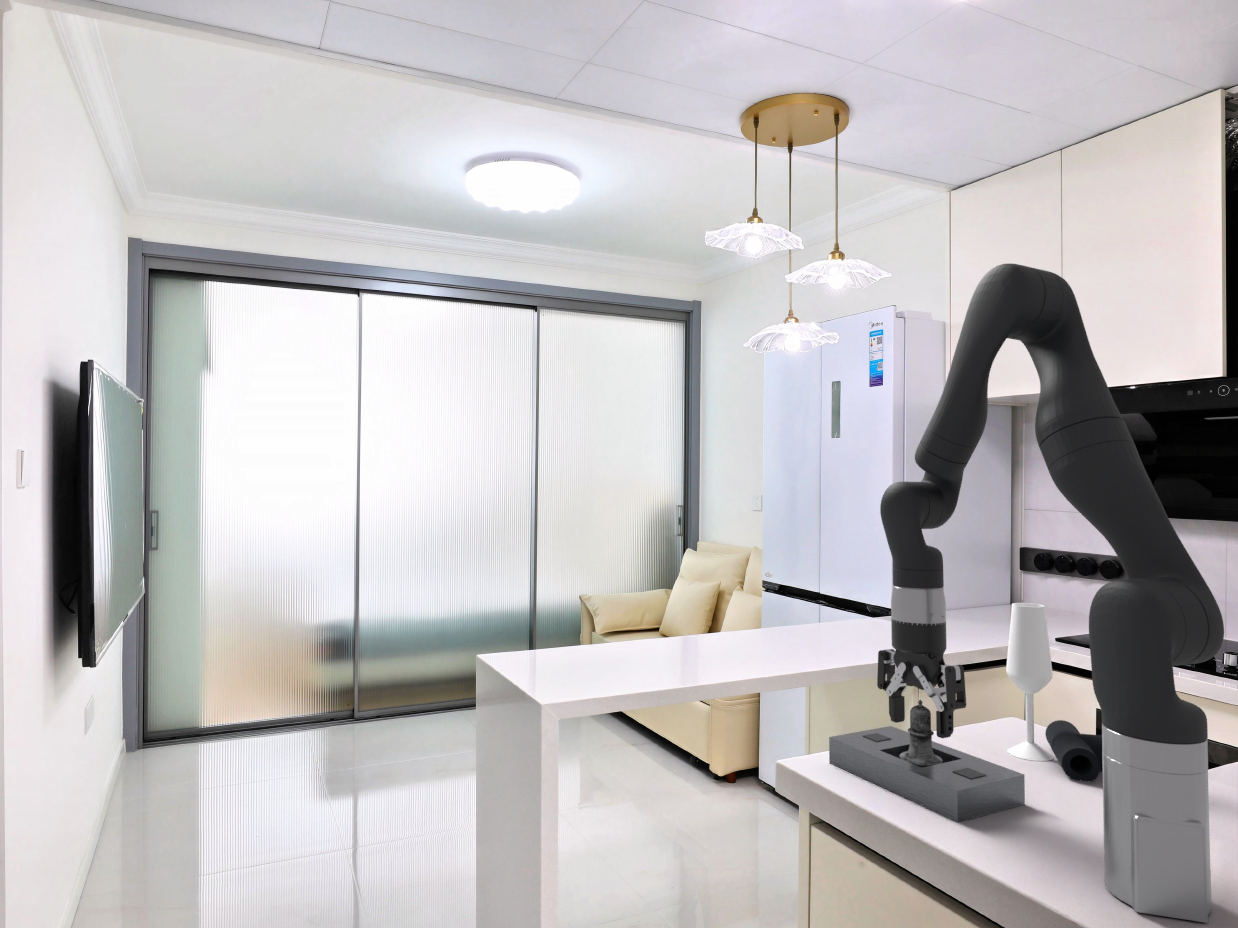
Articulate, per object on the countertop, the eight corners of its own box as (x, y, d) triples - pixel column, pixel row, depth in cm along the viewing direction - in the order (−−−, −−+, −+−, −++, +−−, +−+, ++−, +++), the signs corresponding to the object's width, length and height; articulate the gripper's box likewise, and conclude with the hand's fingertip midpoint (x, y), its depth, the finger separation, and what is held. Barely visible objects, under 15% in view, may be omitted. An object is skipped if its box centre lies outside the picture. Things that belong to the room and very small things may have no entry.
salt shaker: (921, 792, 109) (920, 706, 109) (890, 778, 114) (890, 696, 115) (952, 786, 111) (951, 702, 112) (920, 772, 117) (920, 692, 117)
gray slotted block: (1024, 804, 105) (1024, 773, 105) (957, 822, 99) (957, 789, 100) (891, 750, 127) (890, 725, 127) (829, 762, 121) (829, 736, 121)
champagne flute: (1005, 744, 130) (1003, 600, 131) (1050, 749, 127) (1048, 603, 128) (1009, 757, 124) (1007, 606, 124) (1057, 763, 121) (1054, 609, 122)
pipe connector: (1125, 723, 125) (1152, 753, 111) (1126, 757, 125) (1153, 790, 111) (1044, 717, 129) (1060, 745, 115) (1046, 750, 129) (1062, 781, 115)
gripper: (977, 622, 109) (979, 739, 108) (899, 609, 122) (901, 713, 121) (939, 626, 106) (941, 746, 105) (863, 612, 118) (865, 719, 118)
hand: (920, 728), depth 113 cm, fingers open, 8 cm apart
